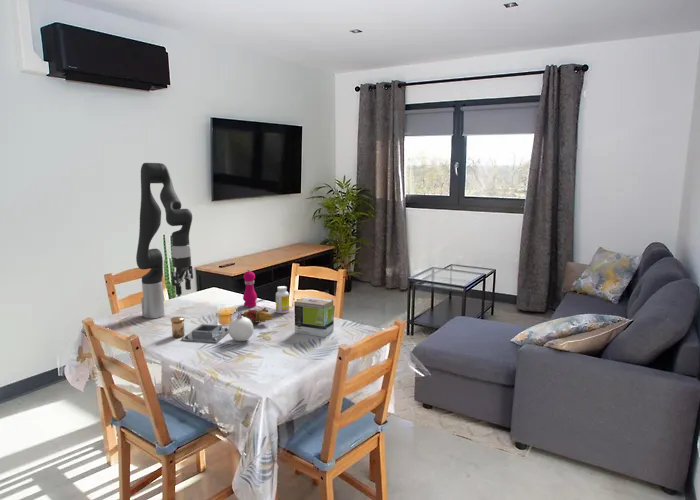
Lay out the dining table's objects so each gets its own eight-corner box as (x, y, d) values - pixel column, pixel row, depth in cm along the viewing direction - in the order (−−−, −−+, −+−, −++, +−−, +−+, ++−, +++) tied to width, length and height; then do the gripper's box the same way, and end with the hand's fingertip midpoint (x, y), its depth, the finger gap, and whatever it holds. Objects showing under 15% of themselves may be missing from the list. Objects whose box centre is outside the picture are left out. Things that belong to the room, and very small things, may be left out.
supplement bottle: (291, 310, 253) (291, 286, 251) (285, 314, 247) (285, 289, 245) (279, 309, 255) (279, 285, 253) (273, 312, 249) (273, 288, 247)
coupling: (181, 340, 211) (180, 333, 210) (198, 328, 226) (198, 321, 226) (216, 343, 208) (216, 335, 207) (231, 330, 223) (231, 323, 223)
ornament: (232, 346, 204) (231, 318, 202) (226, 338, 213) (225, 311, 211) (256, 342, 209) (255, 315, 207) (249, 334, 218) (248, 308, 216)
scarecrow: (241, 330, 224) (240, 313, 223) (237, 319, 239) (236, 303, 238) (278, 326, 230) (278, 310, 228) (272, 315, 245) (272, 300, 243)
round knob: (169, 337, 214) (168, 320, 212) (175, 333, 219) (174, 316, 218) (181, 338, 213) (180, 320, 212) (187, 334, 218) (186, 316, 217)
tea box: (334, 330, 223) (334, 299, 221) (323, 338, 214) (323, 305, 212) (305, 326, 230) (304, 295, 227) (294, 332, 221) (293, 300, 218)
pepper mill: (255, 307, 258) (254, 270, 254) (241, 307, 258) (240, 270, 254) (258, 303, 265) (257, 267, 261) (245, 303, 265) (243, 267, 261)
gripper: (181, 252, 220) (183, 287, 222) (164, 258, 206) (167, 296, 209) (197, 252, 218) (199, 288, 221) (181, 258, 205) (184, 296, 207)
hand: (183, 292), depth 215 cm, fingers open, 8 cm apart
